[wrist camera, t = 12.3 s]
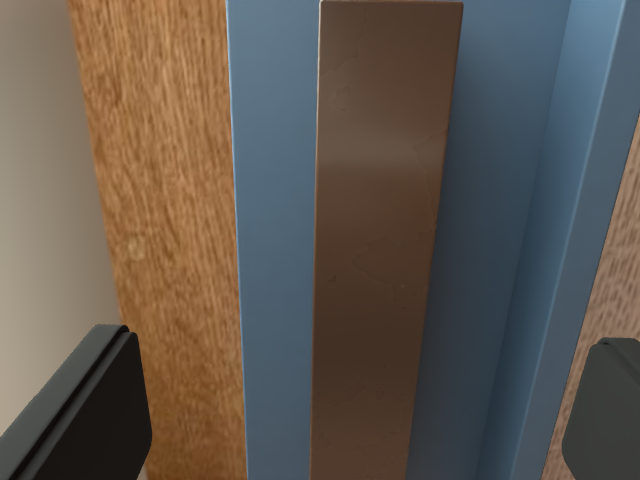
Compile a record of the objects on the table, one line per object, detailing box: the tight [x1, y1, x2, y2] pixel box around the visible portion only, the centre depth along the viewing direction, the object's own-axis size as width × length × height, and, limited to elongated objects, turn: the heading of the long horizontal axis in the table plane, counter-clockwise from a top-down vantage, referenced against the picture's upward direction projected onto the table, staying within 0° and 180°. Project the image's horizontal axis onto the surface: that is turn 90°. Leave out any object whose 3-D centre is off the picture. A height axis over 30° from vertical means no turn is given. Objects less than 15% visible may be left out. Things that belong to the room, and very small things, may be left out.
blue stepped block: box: [226, 0, 640, 480], centre depth 19 cm, size 10×20×12 cm, turn 179°
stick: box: [309, 0, 464, 480], centre depth 14 cm, size 16×3×3 cm, turn 179°
